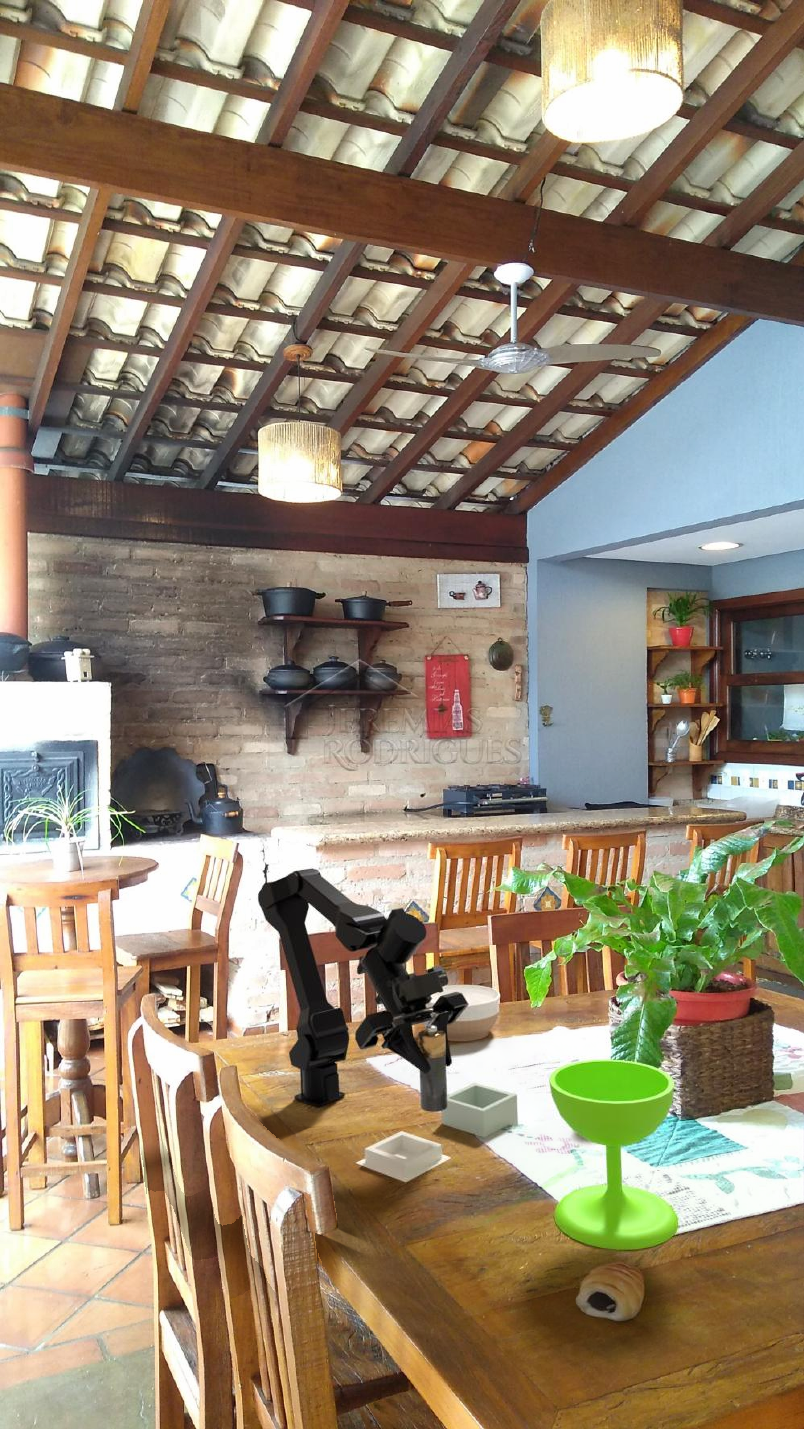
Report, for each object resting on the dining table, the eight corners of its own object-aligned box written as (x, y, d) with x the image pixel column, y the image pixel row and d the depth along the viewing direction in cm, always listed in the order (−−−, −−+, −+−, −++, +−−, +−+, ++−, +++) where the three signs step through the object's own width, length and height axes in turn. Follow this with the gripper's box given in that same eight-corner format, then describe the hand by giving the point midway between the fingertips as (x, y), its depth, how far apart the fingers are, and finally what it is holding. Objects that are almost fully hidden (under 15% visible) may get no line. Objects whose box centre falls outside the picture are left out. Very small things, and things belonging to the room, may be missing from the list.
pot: (442, 1129, 166) (441, 1098, 166) (475, 1113, 172) (474, 1083, 172) (484, 1143, 160) (483, 1111, 160) (517, 1125, 166) (516, 1094, 166)
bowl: (504, 1044, 207) (503, 1004, 207) (424, 1046, 207) (423, 1007, 207) (498, 1020, 223) (497, 983, 223) (423, 1022, 223) (422, 985, 223)
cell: (415, 1108, 156) (413, 1028, 156) (429, 1099, 159) (426, 1021, 159) (439, 1113, 154) (436, 1032, 153) (452, 1104, 157) (449, 1025, 157)
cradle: (355, 1169, 153) (355, 1149, 153) (401, 1147, 160) (401, 1127, 160) (406, 1189, 146) (405, 1167, 146) (451, 1164, 153) (451, 1144, 153)
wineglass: (531, 1205, 140) (526, 1072, 140) (630, 1180, 146) (625, 1052, 146) (598, 1262, 125) (593, 1112, 125) (705, 1231, 131) (700, 1089, 131)
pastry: (602, 1273, 123) (601, 1241, 123) (658, 1288, 120) (657, 1255, 120) (572, 1314, 115) (571, 1279, 115) (632, 1331, 112) (631, 1296, 112)
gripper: (363, 961, 154) (412, 1054, 145) (458, 940, 165) (509, 1025, 156) (335, 1003, 160) (380, 1095, 151) (428, 980, 171) (475, 1064, 163)
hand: (438, 1068), depth 155 cm, fingers closed on cell, 4 cm apart
